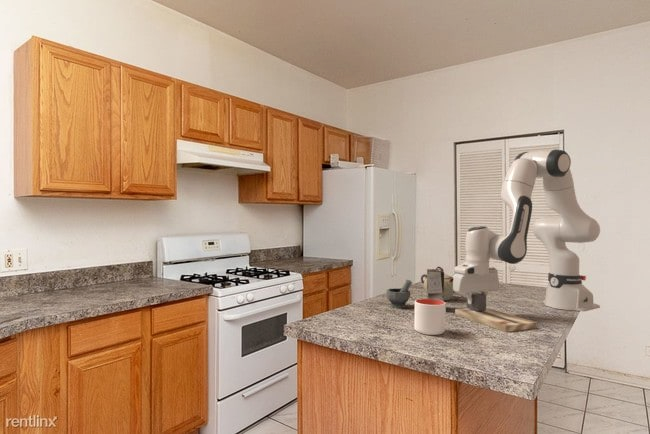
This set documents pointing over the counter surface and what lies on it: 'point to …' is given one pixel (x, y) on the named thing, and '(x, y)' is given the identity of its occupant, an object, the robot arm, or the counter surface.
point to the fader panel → (496, 319)
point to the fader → (478, 302)
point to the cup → (430, 316)
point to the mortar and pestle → (399, 295)
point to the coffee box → (435, 284)
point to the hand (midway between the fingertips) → (476, 303)
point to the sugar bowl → (447, 285)
